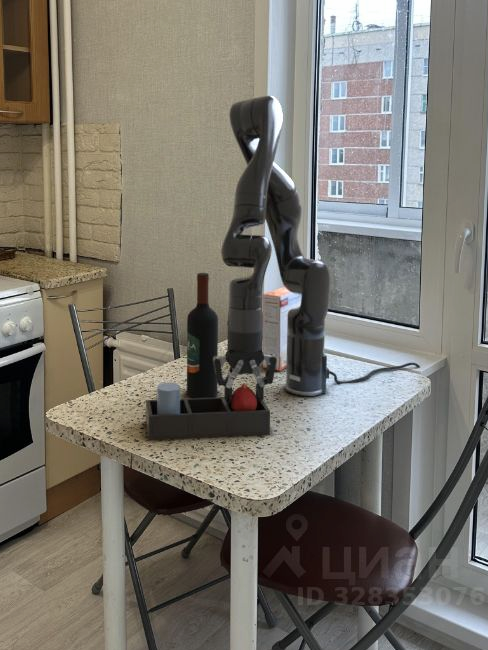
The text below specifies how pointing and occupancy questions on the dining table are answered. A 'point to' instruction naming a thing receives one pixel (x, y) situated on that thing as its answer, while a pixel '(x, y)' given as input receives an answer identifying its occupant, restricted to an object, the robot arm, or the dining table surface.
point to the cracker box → (277, 323)
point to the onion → (244, 399)
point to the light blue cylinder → (168, 398)
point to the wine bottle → (202, 344)
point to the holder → (206, 420)
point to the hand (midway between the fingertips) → (243, 402)
